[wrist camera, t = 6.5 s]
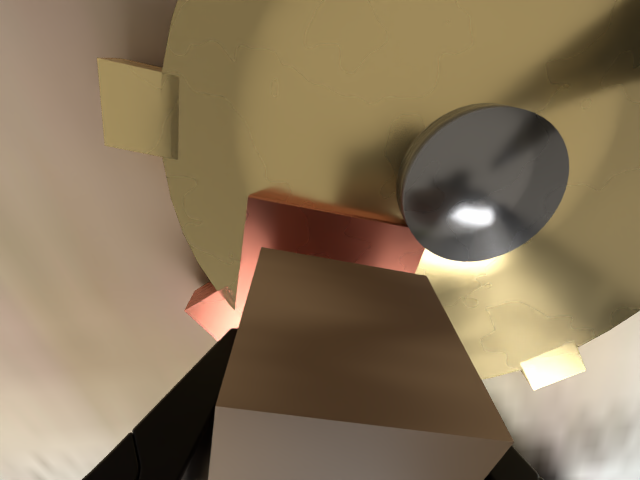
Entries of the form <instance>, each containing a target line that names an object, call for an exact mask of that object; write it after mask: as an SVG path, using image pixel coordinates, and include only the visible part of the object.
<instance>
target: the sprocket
mask: <svg viewBox="0 0 640 480" xmlns="http://www.w3.org/2000/svg"><path fill="white" fill-rule="evenodd" d="M97 64H98V75H99V87H100V98H101V109H102V121H103V132H104V143H105V146H109V147H114V148H119V149H124V150H129V151H134V152H139V153H145V154H150V155H155V156H160V157H163V163H164V167H165V172H166V177H167V182H168V186H169V191H170V196H171V200H172V203H173V206H174V208H175V211H176V214H177V217H178V220H179V223H180V226H181V228H182V231H183V234H184V236H185V238H186V240H187V242H188V244H189V246H190V248H191V250H192V252H193V254H194V256H195V258H196V260H197V262H198V263H199V265H200V266H201V268H202V269H203V271H204V272H205V274H206V275H207V277H208V278H209V280H210V282H209V283H207V284H205V285H204V286H202V287H200V288H199V289H197V290H195V291H194V293H193V295H192V297H191V299H190V301H189V303H188V305H187V307H186V309H185V312H186V313H187V314H189V315H190V316H191V317H192V318H193V319H194V320H195V321H196V322H197V323H198V324H199V325H201V326H202V327H203V328H204V329H205V330H206V331H207V332H208V333H209V334H210V335H211V336H213V337H214V338H215V339H216V340H217V341H219V340H220V339H221V338H222V337H223V336H224V335H225V334H226V333H227V332H228V331H229V330H230V329H231V328H238V326H239V323H240V320H241V316H242V313H243V309H244V306H245V302H246V299H247V295H248V292H249V288H250V285H251V282H252V278H253V275H254V271H255V268H256V264H257V261H258V257H259V254H260V250H261V247H265V248H270V249H276V250H282V251H288V252H293V253H299V254H305V255H311V256H316V257H322V258H328V259H334V260H339V261H345V262H351V263H356V264H362V265H368V266H374V267H379V268H385V269H391V270H397V271H402V272H408V273H414V274H420V275H425V276H427V277H428V279H429V281H430V283H431V285H432V287H433V289H434V291H435V293H436V295H437V296H438V298H439V300H440V302H441V304H442V306H443V308H444V310H445V312H446V314H447V315H448V317H449V319H450V321H451V323H452V325H453V327H454V329H455V331H456V333H457V335H458V336H459V338H460V340H461V342H462V344H463V346H464V348H465V350H466V352H467V354H468V355H469V357H470V359H471V361H472V363H473V365H474V367H475V369H476V371H477V373H478V374H479V376H480V378H481V379H486V378H492V377H496V376H500V375H503V374H507V373H511V372H515V371H518V370H520V371H521V372H522V373H523V375H524V376H525V378H526V379H527V381H528V382H529V384H530V385H531V387H532V388H533V390H536V389H538V388H541V387H544V386H546V385H549V384H551V383H554V382H557V381H559V380H562V379H565V378H567V377H570V376H573V375H575V374H578V373H580V372H583V371H586V369H585V366H584V364H583V361H582V359H581V356H580V353H579V351H578V348H577V347H579V346H581V345H583V344H585V343H587V342H589V341H591V340H592V339H594V338H596V337H598V336H600V335H602V334H604V333H605V332H607V331H609V330H611V329H612V328H614V327H615V326H617V325H618V324H620V323H621V322H623V321H625V320H626V319H628V318H629V317H631V316H632V315H634V314H635V313H637V312H638V311H640V0H178V1H177V4H176V7H175V10H174V13H173V16H172V19H171V25H170V30H169V35H168V41H167V46H166V52H165V57H164V62H163V68H162V67H157V66H153V65H148V64H144V63H140V62H135V61H131V60H126V59H122V58H97Z"/></svg>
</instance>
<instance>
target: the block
mask: <svg viewBox="0 0 640 480" xmlns="http://www.w3.org/2000/svg"><path fill="white" fill-rule="evenodd" d="M513 443H514V441H513V439H512V437H511V435H510V433H509V432H508V430H507V428H506V426H505V424H504V422H503V420H502V418H501V416H500V414H499V412H498V411H497V409H496V407H495V405H494V403H493V401H492V399H491V397H490V395H489V393H488V392H487V390H486V388H485V386H484V384H483V382H482V380H481V378H480V376H479V374H478V373H477V371H476V369H475V367H474V365H473V363H472V361H471V359H470V357H469V355H468V354H467V352H466V350H465V348H464V346H463V344H462V342H461V340H460V338H459V336H458V335H457V333H456V331H455V329H454V327H453V325H452V323H451V321H450V319H449V317H448V315H447V314H446V312H445V310H444V308H443V306H442V304H441V302H440V300H439V298H438V296H437V295H436V293H435V291H434V289H433V287H432V285H431V283H430V281H429V279H428V277H427V276H425V275H420V274H414V273H408V272H402V271H397V270H391V269H385V268H379V267H374V266H368V265H362V264H356V263H351V262H345V261H339V260H334V259H328V258H322V257H316V256H311V255H305V254H299V253H293V252H288V251H282V250H276V249H270V248H265V247H261V250H260V254H259V257H258V261H257V264H256V268H255V271H254V275H253V278H252V282H251V285H250V288H249V292H248V295H247V299H246V302H245V306H244V309H243V313H242V316H241V320H240V323H239V326H238V330H237V333H236V337H235V340H234V344H233V347H232V351H231V354H230V358H229V361H228V365H227V368H226V371H225V375H224V378H223V382H222V385H221V389H220V392H219V396H218V399H217V403H216V406H215V416H214V426H213V436H212V446H211V456H210V466H209V476H208V480H484V479H485V478H486V476H487V475H488V474H489V473H490V471H491V470H492V469H493V468H494V466H495V465H496V464H497V463H498V461H499V460H500V459H501V458H502V456H503V455H504V454H505V453H506V452H507V450H508V449H509V448H510V447H511V445H512V444H513Z"/></svg>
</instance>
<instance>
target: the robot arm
mask: <svg viewBox="0 0 640 480" xmlns="http://www.w3.org/2000/svg"><path fill="white" fill-rule="evenodd" d="M237 330H238V328H231V329H230V330H229V331H228V332H227V333H226V334H225V335H224V336H223V337H222V338H221V339H220V340H219V341H218V342H217V343H216V344H215V345H214V346H213V347H212V348H211V349H210V350H209V351H208V352H207V353H206V354H205V355H204V356H203V357H202V358H201V360H200V361H199V362H198V363H197V364H196V365H195V366H194V367H193V368H192V369H191V370H190V371H189V372H188V373H187V374H186V375H185V376H184V377H183V378H182V379H181V380H180V381H179V382H178V383H177V384H176V385H175V386H174V387H173V388H172V389H171V390H170V392H169V393H168V394H167V395H166V396H165V397H164V398H163V399H162V400H161V401H160V402H159V403H158V404H157V405H156V406H155V407H154V408H153V409H152V410H151V411H150V412H149V413H148V414H147V415H146V416H145V417H144V418H143V419H142V420H141V421H140V422H139V423H138V425H137V426H136V427H135V428H134V429H133V430H132V433H129V434H128V435H127V436H126V437H125V438H124V439H123V440H122V441H121V442H120V443H119V444H118V445H117V446H116V447H115V448H114V449H113V450H112V451H111V452H110V453H109V454H108V455H107V456H106V457H105V458H104V459H103V460H102V461H101V462H100V463H99V464H98V465H97V466H96V467H95V468H94V469H93V470H92V471H91V472H90V473H89V474H87V475H86V476H85V477H84V478H83V479H82V480H208V476H209V466H210V456H211V446H212V436H213V426H214V416H215V406H216V403H217V399H218V396H219V392H220V389H221V385H222V382H223V378H224V375H225V371H226V368H227V365H228V361H229V358H230V354H231V351H232V347H233V344H234V340H235V337H236V333H237ZM484 480H544V479H543V478H542V477H539V475H538V473H537V472H536V471H535V470H534V469H533V468H532V467H531V466H530V465H529V464H528V462H527V461H526V460H525V459H524V458H523V457H522V456H521V455H520V454H519V453H518V452H517V451H516V450H515V449H514V448H513V447H512V445H511V447H510V448H509V449H508V450H507V452H506V453H505V454H504V455H503V456H502V458H501V459H500V460H499V461H498V463H497V464H496V465H495V466H494V468H493V469H492V470H491V471H490V473H489V474H488V475H487V476H486V478H485V479H484Z"/></svg>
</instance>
